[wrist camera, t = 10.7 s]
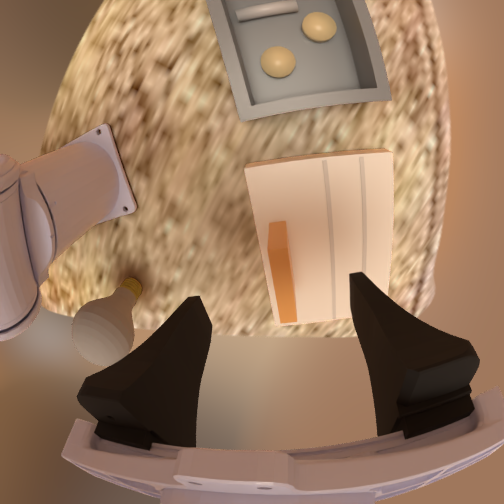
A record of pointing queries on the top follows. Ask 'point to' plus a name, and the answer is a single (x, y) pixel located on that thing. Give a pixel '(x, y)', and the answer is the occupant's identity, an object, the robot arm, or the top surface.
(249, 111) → the tub
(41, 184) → the robot arm
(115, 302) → the light bulb
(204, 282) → the top surface
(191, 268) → the top surface
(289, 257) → the lid
